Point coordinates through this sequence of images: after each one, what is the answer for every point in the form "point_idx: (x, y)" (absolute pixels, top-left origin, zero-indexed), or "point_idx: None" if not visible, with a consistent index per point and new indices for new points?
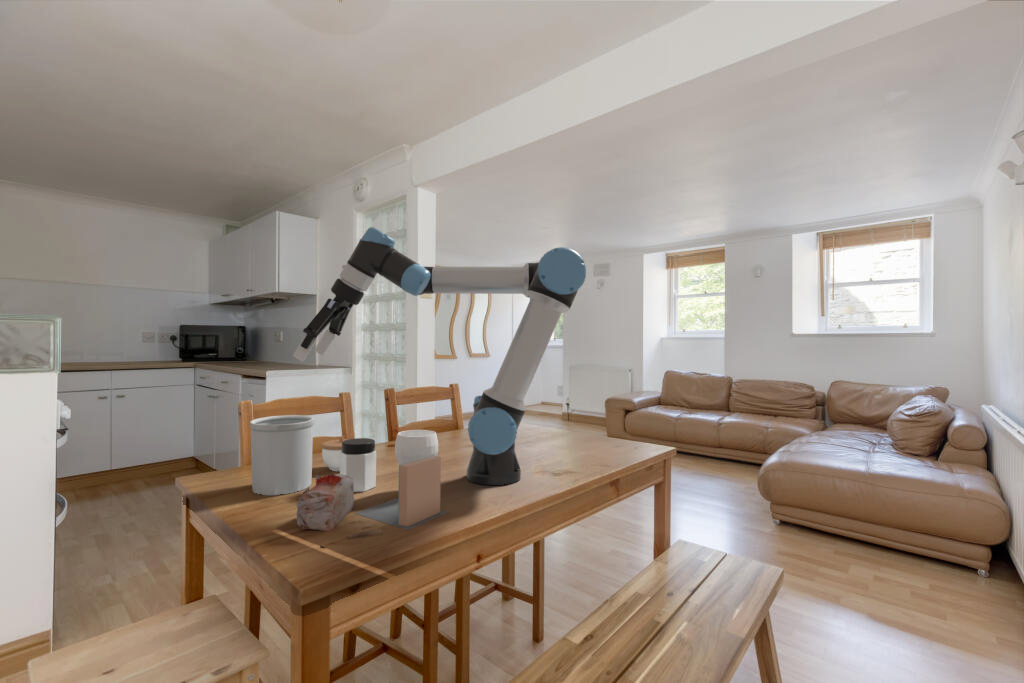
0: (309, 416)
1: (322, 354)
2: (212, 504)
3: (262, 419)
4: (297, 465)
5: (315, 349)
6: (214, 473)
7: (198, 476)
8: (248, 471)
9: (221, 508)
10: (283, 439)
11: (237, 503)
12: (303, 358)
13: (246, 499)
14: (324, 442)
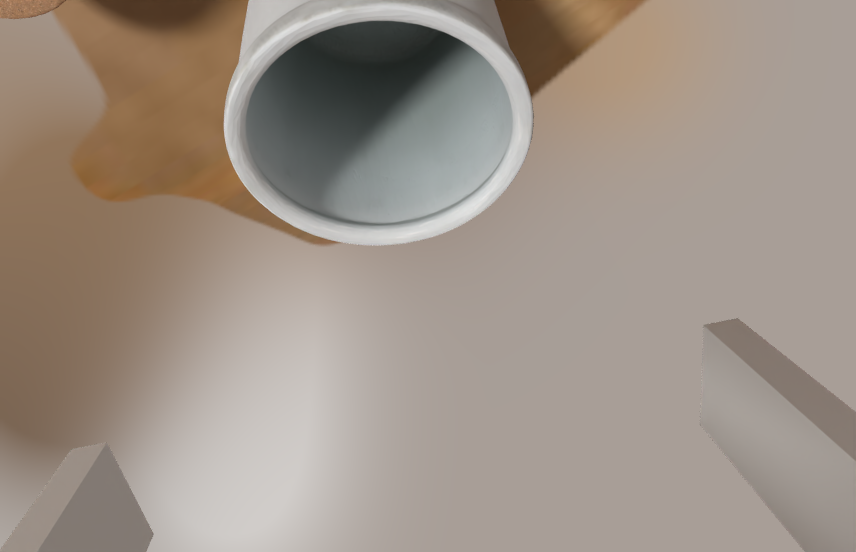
0: (243, 85)
1: (103, 461)
2: (553, 72)
3: (361, 232)
4: None
5: (141, 545)
6: (287, 227)
7: (323, 239)
8: (236, 172)
9: (593, 27)
10: (503, 32)
11: (550, 11)
12: (760, 346)
13: (512, 8)
14: (23, 10)
